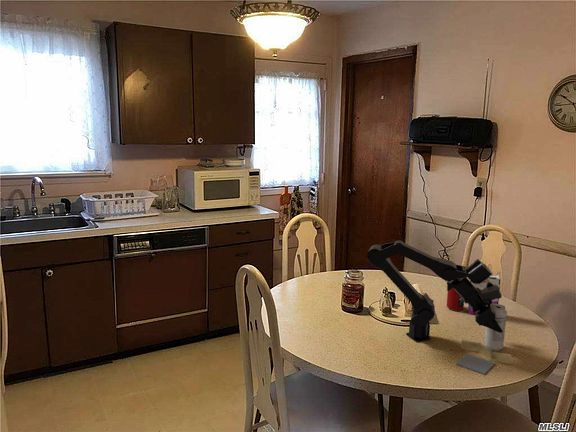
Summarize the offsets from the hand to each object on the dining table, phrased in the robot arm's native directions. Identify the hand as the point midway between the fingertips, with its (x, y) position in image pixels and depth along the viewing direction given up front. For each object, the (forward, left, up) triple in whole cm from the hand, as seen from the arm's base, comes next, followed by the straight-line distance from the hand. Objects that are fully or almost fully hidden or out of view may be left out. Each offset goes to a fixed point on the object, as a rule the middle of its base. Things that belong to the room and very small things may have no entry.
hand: (500, 326), depth 162 cm
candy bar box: (+16, +26, -8) cm, 31 cm away
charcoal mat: (-15, -7, -8) cm, 18 cm away
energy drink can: (-1, +1, -8) cm, 8 cm away
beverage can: (+9, +34, -8) cm, 36 cm away
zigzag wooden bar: (-8, -3, -8) cm, 12 cm away
